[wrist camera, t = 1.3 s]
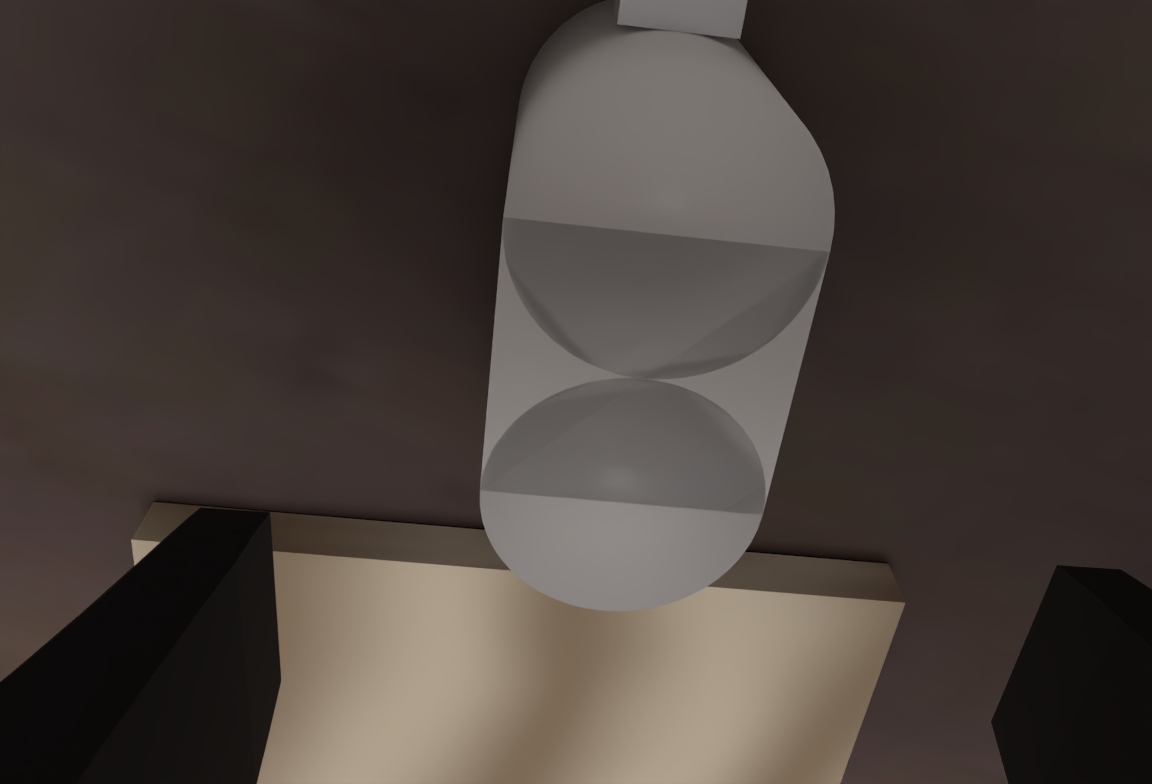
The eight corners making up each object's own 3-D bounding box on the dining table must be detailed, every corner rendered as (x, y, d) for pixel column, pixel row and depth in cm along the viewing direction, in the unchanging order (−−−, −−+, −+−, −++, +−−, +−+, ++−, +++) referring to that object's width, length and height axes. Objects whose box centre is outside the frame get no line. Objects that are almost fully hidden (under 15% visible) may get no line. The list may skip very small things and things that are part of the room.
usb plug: (812, -118, 15) (916, -89, 11) (696, 443, 20) (735, 621, 15) (541, -155, 15) (533, -139, 10) (490, 423, 19) (470, 600, 15)
